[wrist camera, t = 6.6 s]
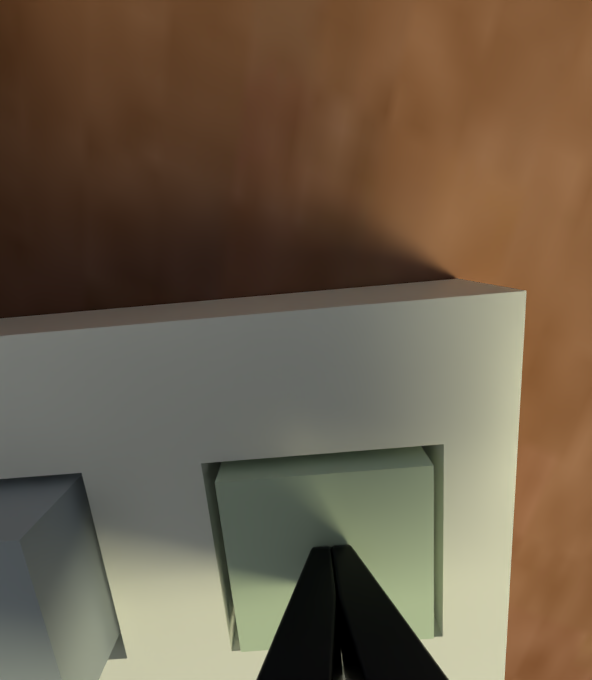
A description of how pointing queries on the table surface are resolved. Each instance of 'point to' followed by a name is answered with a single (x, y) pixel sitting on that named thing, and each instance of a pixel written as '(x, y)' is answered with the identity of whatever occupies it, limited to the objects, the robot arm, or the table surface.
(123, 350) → the button board
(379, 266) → the table surface
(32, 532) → the slate tile
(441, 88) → the table surface
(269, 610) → the sage tile
